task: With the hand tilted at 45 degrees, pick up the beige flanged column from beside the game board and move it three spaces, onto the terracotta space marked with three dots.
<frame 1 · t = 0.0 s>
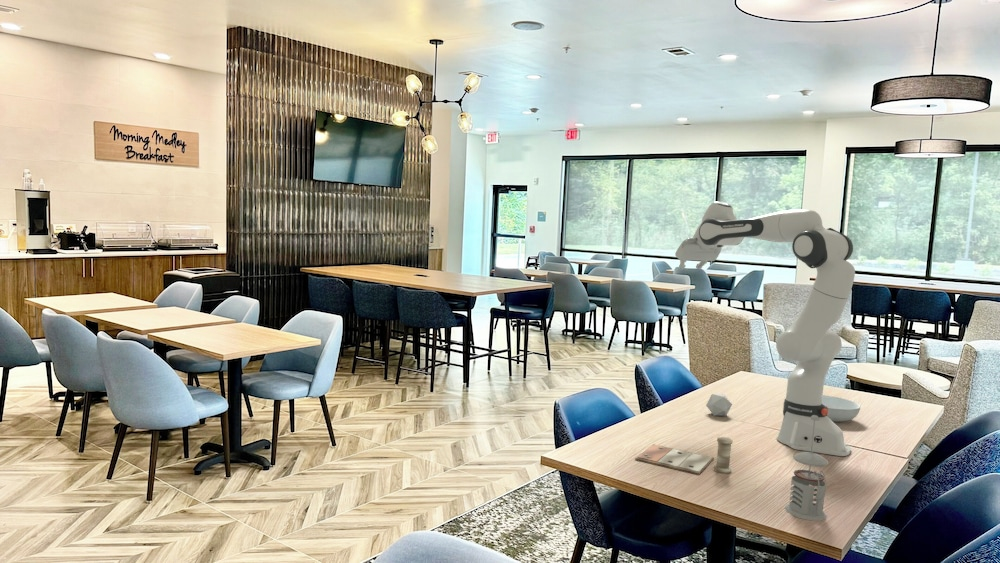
hand: (689, 268, 275), 54 cm above the table, tool tilted 30°, fingers open, 8 cm apart
game board: (674, 459, 207), on the table
french press: (807, 514, 172), on the table
serving bowl: (828, 419, 266), on the table
die: (718, 415, 262), on the table
beige flanged column: (722, 470, 200), on the table
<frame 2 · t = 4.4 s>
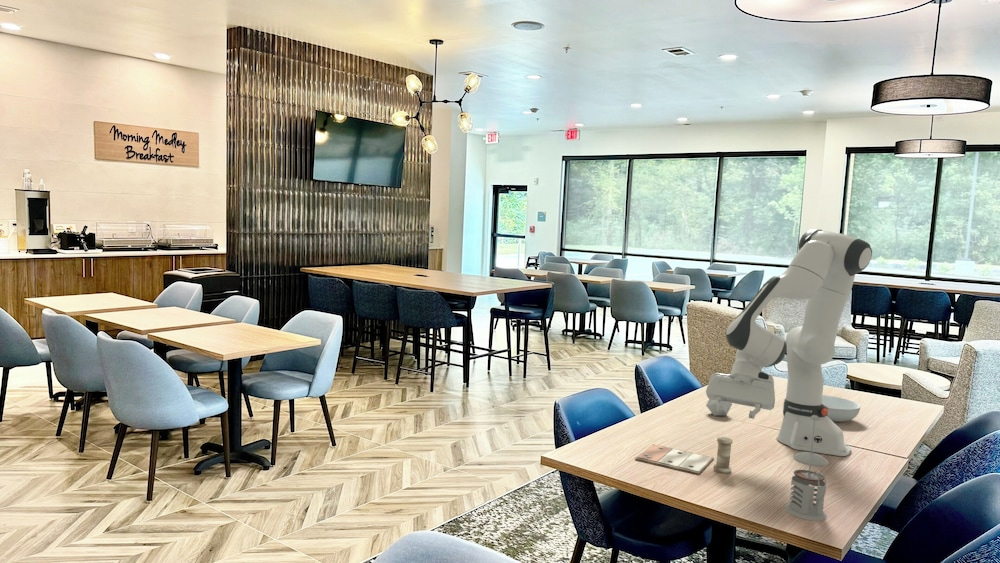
hand: (735, 414, 209), 14 cm above the table, tool tilted 45°, fingers open, 8 cm apart
nothing on the table moved.
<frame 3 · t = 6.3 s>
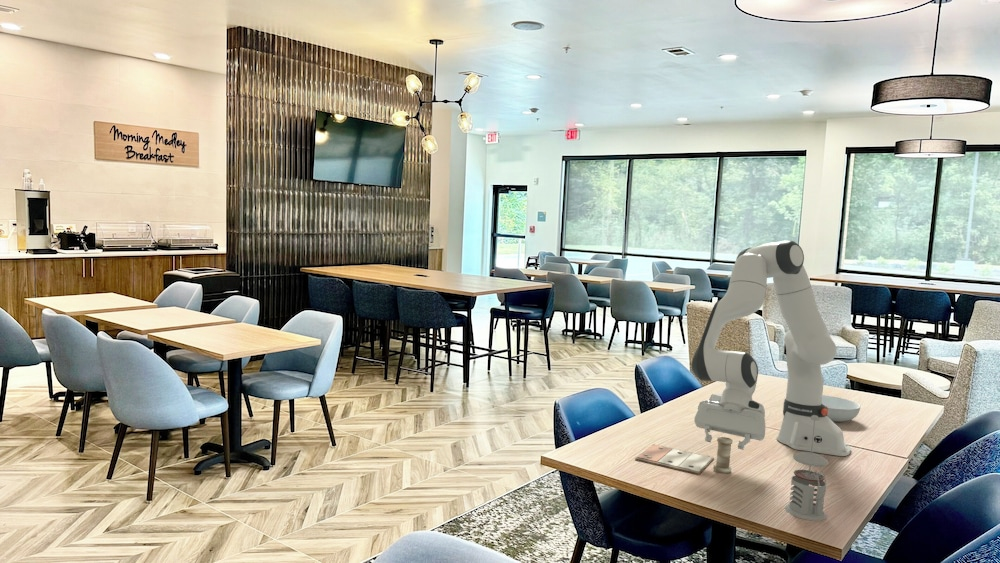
hand: (723, 444, 202), 7 cm above the table, tool tilted 45°, fingers open, 8 cm apart
nothing on the table moved.
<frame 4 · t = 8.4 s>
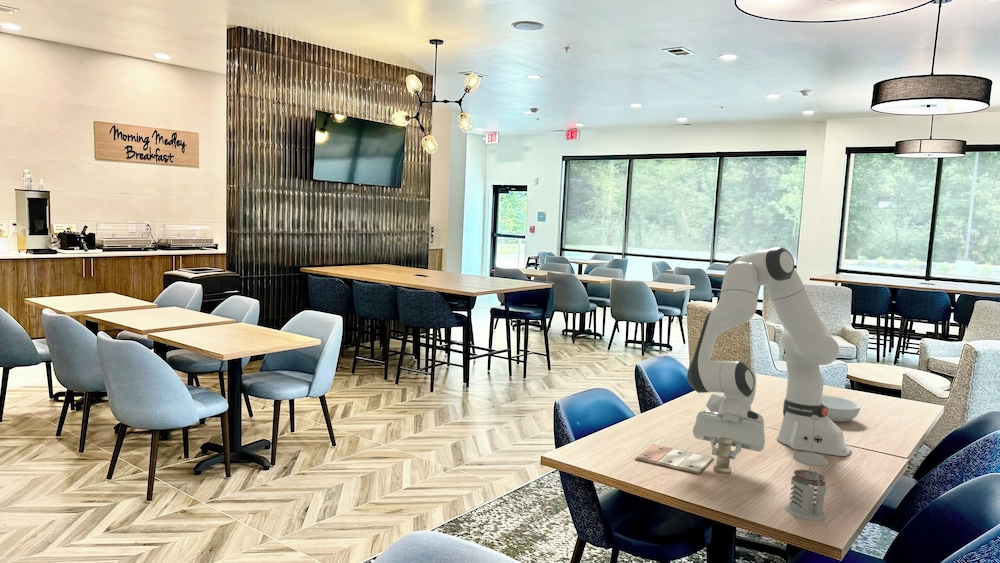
hand: (723, 456, 199), 4 cm above the table, tool tilted 45°, fingers closed on beige flanged column, 4 cm apart
beige flanged column: (722, 470, 200), on the table, touching gripper
everything else where it was.
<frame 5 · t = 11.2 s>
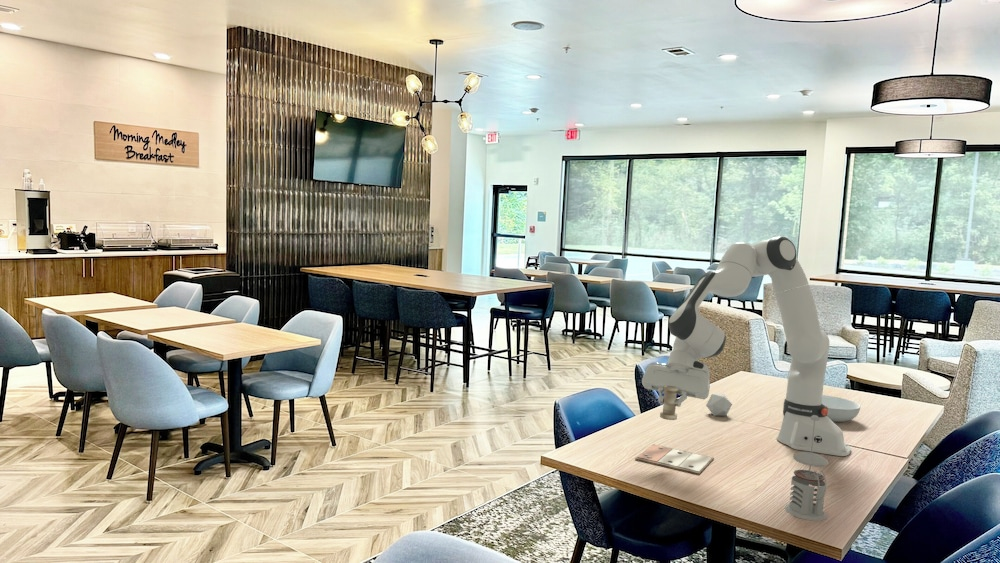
hand: (668, 403, 207), 17 cm above the table, tool tilted 45°, fingers closed on beige flanged column, 4 cm apart
beige flanged column: (668, 417, 208), point 12 cm above the table, touching gripper
everything else where it was.
when the fingers open (6 cm above the table, at t = 14.2 s): beige flanged column stays where it is, resting on game board.
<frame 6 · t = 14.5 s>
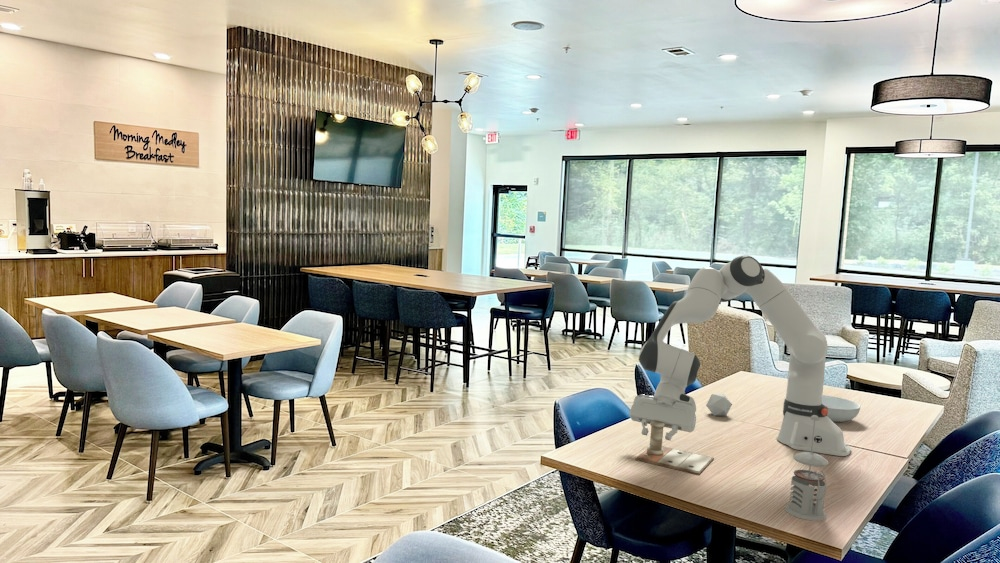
hand: (655, 436, 209), 6 cm above the table, tool tilted 45°, fingers open, 6 cm apart
beige flanged column: (655, 452, 210), point 1 cm above the table, touching game board
everything else where it was.
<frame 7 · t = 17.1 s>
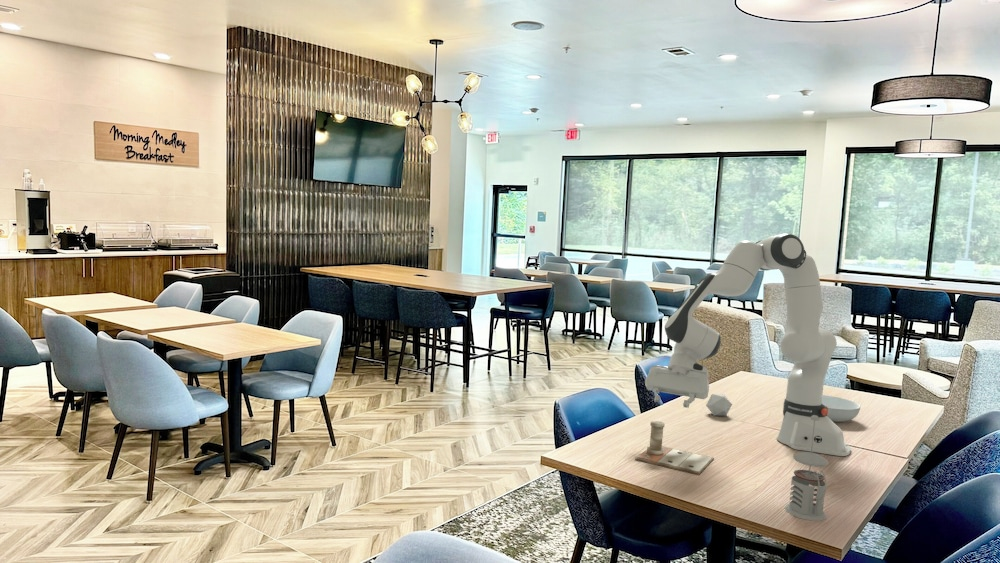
hand: (670, 403, 220), 14 cm above the table, tool tilted 45°, fingers open, 8 cm apart
nothing on the table moved.
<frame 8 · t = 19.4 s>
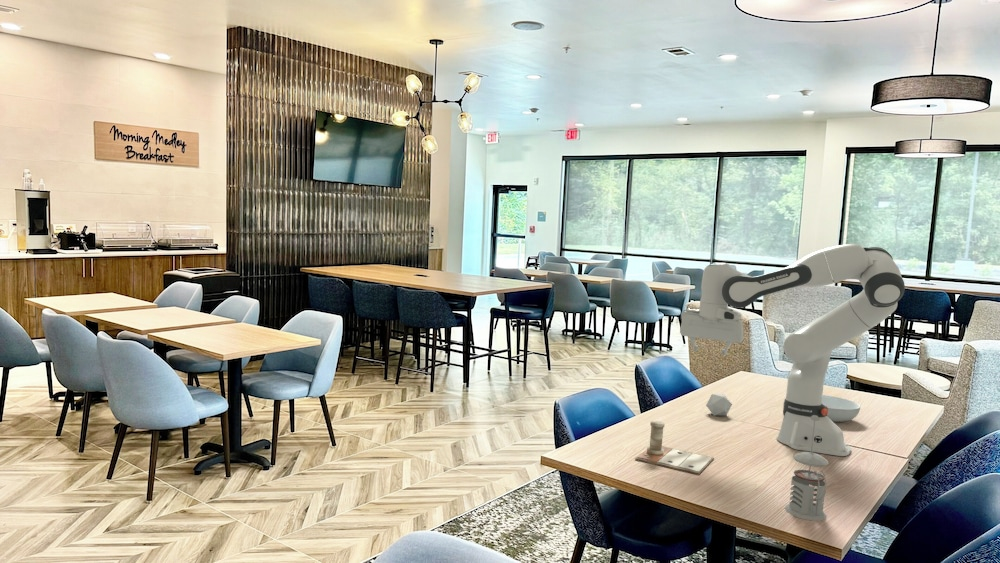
hand: (709, 352, 228), 29 cm above the table, tool pointing down, fingers open, 8 cm apart
nothing on the table moved.
at the end: beige flanged column 0.0 cm from the target spot on the game board, point 0.7 cm above the game board's base; beige flanged column tilted 0°; the gripper is holding nothing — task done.
